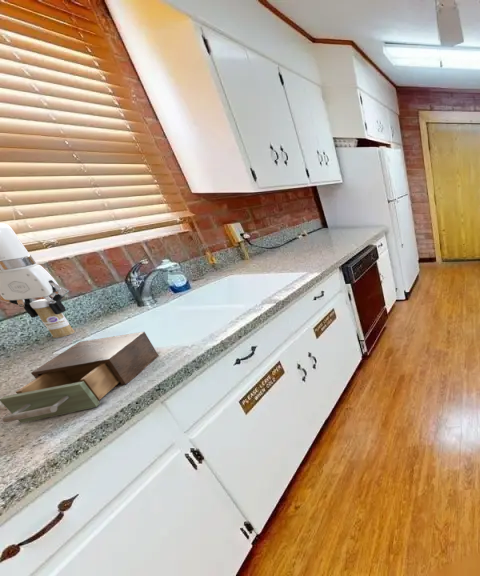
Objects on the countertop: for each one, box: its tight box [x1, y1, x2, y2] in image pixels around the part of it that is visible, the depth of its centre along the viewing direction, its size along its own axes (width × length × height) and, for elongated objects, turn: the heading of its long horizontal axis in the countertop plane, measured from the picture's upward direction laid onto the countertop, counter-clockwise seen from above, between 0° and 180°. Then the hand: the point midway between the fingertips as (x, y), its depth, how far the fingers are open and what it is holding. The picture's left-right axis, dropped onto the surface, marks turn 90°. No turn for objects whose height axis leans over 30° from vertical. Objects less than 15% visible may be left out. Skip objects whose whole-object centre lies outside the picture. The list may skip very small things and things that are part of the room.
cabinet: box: [30, 331, 159, 388], centre depth 83 cm, size 15×14×9 cm
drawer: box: [0, 362, 120, 424], centre depth 73 cm, size 18×12×7 cm
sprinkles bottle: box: [30, 298, 76, 339], centre depth 101 cm, size 5×5×14 cm
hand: (49, 313), depth 100 cm, fingers closed on sprinkles bottle, 4 cm apart
